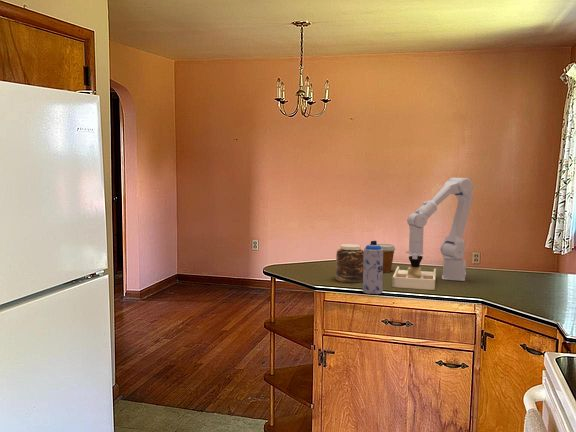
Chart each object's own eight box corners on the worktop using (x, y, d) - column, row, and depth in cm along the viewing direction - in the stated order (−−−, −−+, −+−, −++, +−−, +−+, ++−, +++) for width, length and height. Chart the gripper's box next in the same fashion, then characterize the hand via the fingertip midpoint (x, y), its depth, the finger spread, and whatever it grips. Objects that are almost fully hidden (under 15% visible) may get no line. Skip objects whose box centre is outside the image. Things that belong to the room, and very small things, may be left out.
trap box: (435, 277, 234) (435, 268, 233) (434, 290, 211) (435, 280, 211) (397, 275, 239) (397, 266, 238) (392, 287, 216) (392, 277, 215)
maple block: (420, 276, 224) (420, 267, 223) (420, 279, 219) (420, 269, 219) (408, 275, 225) (408, 266, 225) (407, 278, 221) (407, 268, 220)
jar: (355, 276, 236) (355, 242, 235) (368, 281, 225) (369, 246, 224) (331, 278, 232) (331, 244, 230) (344, 283, 221) (344, 248, 219)
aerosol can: (377, 294, 203) (379, 243, 201) (359, 292, 207) (360, 241, 205) (385, 290, 209) (387, 240, 207) (367, 288, 213) (368, 238, 211)
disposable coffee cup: (389, 273, 241) (390, 247, 240) (370, 271, 247) (371, 245, 246) (397, 270, 249) (398, 245, 248) (379, 267, 255) (380, 243, 253)
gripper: (407, 238, 233) (406, 269, 234) (405, 243, 219) (404, 275, 220) (424, 239, 231) (423, 270, 232) (422, 244, 217) (421, 277, 218)
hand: (415, 273), depth 226 cm, fingers closed
